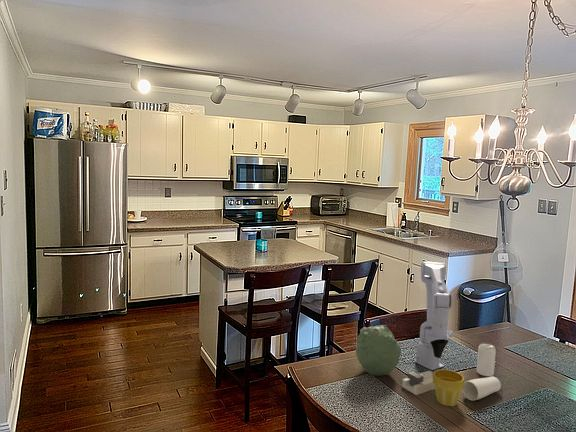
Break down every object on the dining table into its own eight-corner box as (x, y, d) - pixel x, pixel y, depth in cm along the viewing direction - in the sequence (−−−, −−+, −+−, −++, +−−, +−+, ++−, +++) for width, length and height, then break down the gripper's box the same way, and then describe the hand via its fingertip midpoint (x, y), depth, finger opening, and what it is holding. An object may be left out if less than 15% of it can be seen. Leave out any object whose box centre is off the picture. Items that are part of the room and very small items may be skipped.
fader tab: (406, 383, 167) (407, 372, 166) (412, 381, 168) (413, 371, 168) (417, 389, 163) (417, 378, 162) (422, 387, 164) (423, 376, 164)
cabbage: (408, 376, 175) (411, 328, 173) (372, 388, 165) (376, 336, 163) (380, 361, 189) (383, 315, 186) (345, 370, 178) (348, 323, 176)
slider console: (402, 386, 167) (402, 379, 167) (428, 377, 175) (429, 370, 175) (416, 395, 161) (417, 387, 161) (443, 385, 169) (444, 377, 169)
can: (495, 378, 177) (498, 349, 176) (478, 375, 178) (480, 347, 177) (491, 370, 183) (494, 343, 182) (474, 368, 185) (477, 341, 183)
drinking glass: (500, 396, 165) (475, 405, 157) (484, 385, 170) (459, 392, 162) (505, 381, 163) (481, 388, 155) (489, 370, 169) (465, 377, 160)
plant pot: (434, 391, 165) (436, 366, 164) (464, 399, 160) (466, 373, 158) (428, 403, 156) (430, 377, 155) (459, 412, 151) (461, 385, 150)
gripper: (436, 329, 164) (433, 364, 165) (460, 323, 171) (458, 357, 173) (421, 323, 170) (418, 357, 171) (445, 318, 177) (443, 350, 179)
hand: (437, 357), depth 172 cm, fingers closed
